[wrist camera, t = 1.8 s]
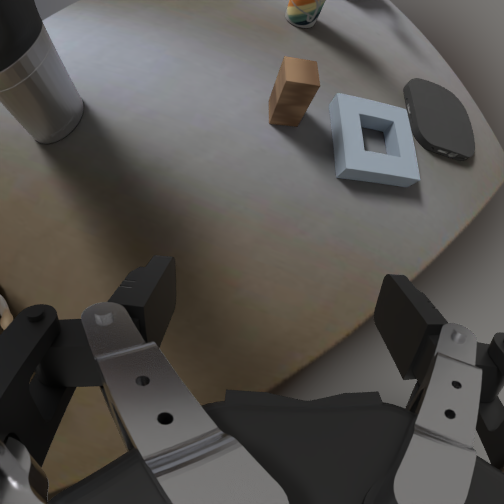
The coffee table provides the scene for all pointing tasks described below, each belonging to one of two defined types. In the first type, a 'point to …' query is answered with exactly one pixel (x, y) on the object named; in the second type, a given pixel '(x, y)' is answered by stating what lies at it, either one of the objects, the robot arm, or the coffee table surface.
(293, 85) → the peg
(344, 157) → the socket
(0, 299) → the kitten
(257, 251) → the coffee table surface
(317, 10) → the lotion bottle
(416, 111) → the media streaming box
